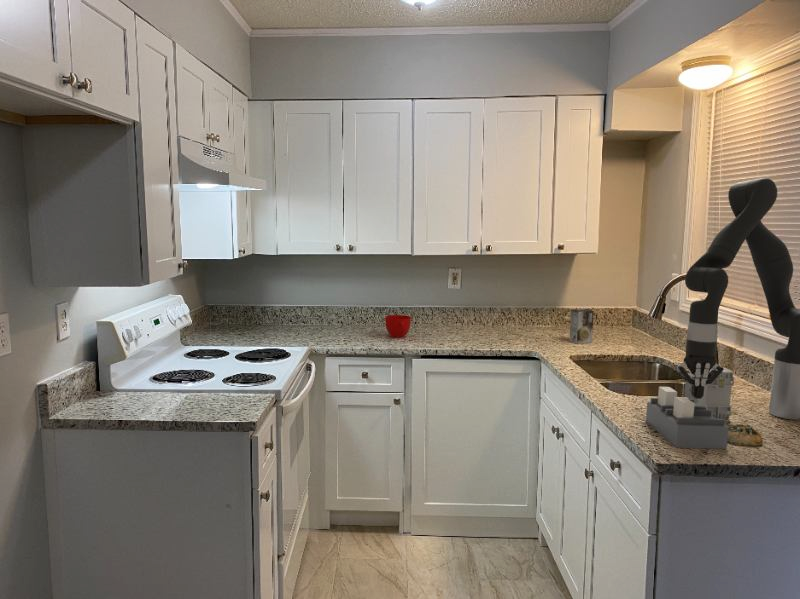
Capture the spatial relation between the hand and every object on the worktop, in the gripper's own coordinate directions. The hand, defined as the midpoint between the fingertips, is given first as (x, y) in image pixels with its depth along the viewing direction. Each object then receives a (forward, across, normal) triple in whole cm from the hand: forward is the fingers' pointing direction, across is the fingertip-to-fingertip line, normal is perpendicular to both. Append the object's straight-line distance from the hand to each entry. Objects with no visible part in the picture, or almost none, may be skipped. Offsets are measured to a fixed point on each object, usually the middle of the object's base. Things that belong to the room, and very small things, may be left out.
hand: (696, 397), depth 162 cm
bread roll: (+10, -8, +8) cm, 15 cm away
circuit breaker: (+9, -10, -14) cm, 20 cm away
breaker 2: (+3, +8, +10) cm, 13 cm away
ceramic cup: (+8, +89, -120) cm, 150 cm away
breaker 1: (+3, +8, 0) cm, 9 cm away
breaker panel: (+9, +5, +5) cm, 12 cm away
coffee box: (+9, -1, -119) cm, 119 cm away
